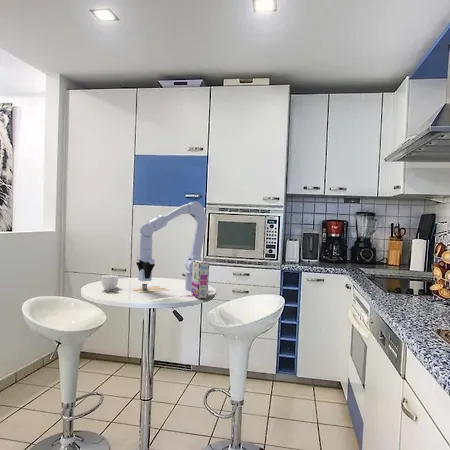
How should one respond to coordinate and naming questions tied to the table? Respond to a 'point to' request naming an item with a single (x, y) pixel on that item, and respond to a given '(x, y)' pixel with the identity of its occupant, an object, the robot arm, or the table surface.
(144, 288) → the post
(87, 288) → the table surface
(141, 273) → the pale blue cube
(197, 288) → the candy bar box
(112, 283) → the cup
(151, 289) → the post board
